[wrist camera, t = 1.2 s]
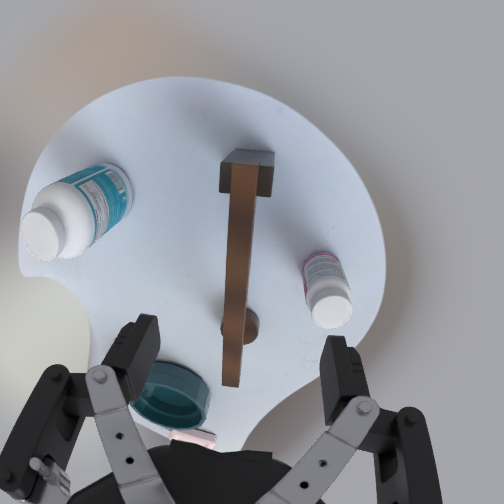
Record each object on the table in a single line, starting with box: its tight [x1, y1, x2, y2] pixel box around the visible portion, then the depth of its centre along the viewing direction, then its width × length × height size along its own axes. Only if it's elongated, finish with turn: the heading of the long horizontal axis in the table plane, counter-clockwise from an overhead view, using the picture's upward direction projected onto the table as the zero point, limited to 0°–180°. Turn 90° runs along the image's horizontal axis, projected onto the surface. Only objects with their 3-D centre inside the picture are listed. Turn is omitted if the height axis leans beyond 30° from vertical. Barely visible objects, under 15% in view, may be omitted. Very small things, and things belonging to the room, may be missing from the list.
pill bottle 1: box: [21, 163, 133, 262], centre depth 27 cm, size 8×7×14 cm
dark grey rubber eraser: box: [219, 149, 275, 197], centre depth 27 cm, size 2×4×9 cm, turn 85°
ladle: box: [220, 160, 260, 388], centre depth 30 cm, size 24×5×11 cm, turn 175°
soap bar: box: [169, 429, 217, 450], centre depth 53 cm, size 5×9×2 cm, turn 70°
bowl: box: [129, 362, 210, 430], centre depth 45 cm, size 13×13×5 cm
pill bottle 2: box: [302, 252, 352, 328], centre depth 32 cm, size 5×5×8 cm
